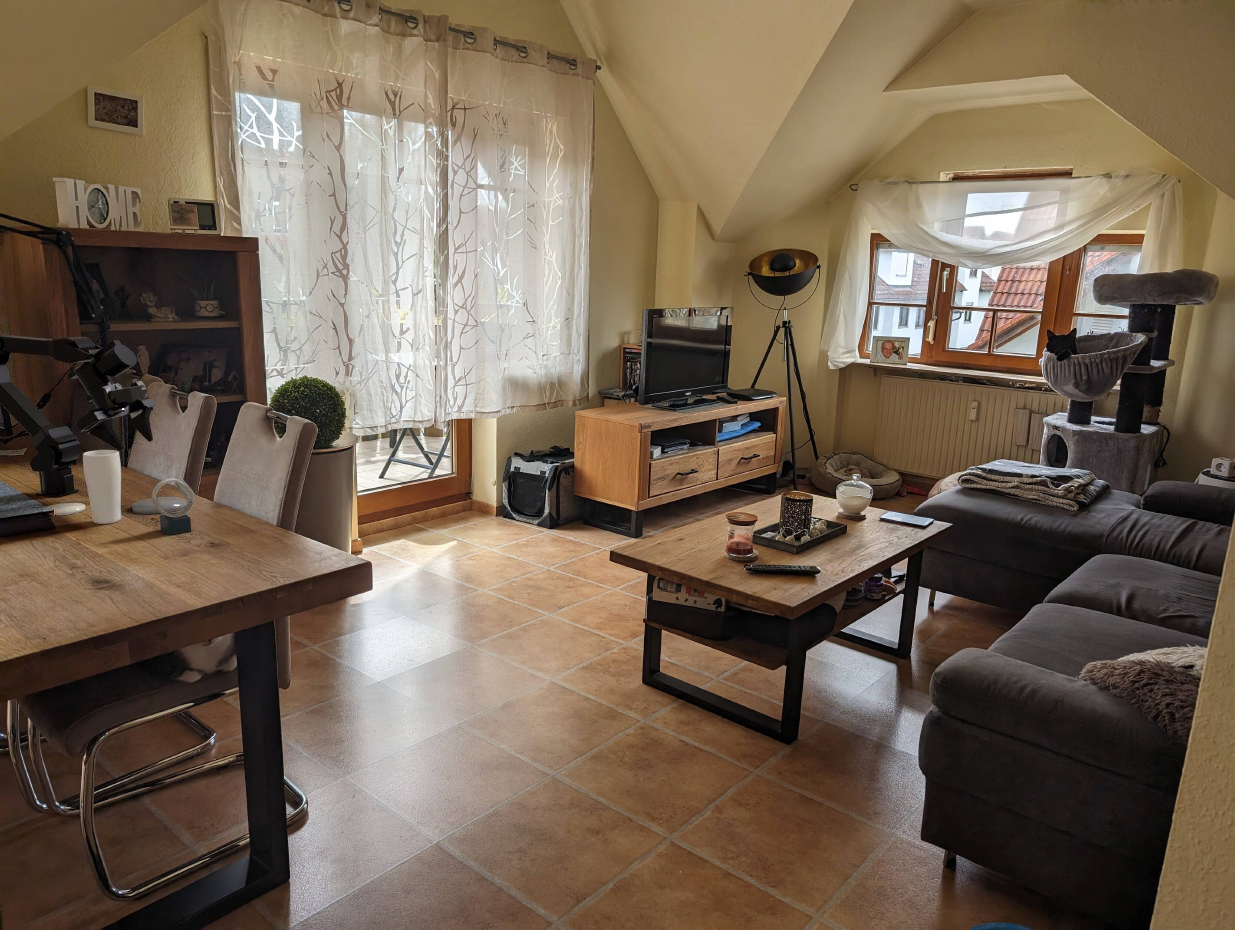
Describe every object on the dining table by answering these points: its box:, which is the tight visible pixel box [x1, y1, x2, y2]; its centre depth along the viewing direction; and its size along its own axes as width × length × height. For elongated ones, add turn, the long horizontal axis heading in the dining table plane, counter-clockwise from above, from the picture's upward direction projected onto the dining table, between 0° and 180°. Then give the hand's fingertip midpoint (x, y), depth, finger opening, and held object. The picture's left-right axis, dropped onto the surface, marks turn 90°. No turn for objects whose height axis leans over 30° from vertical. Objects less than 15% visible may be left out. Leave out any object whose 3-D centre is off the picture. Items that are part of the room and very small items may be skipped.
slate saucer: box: [131, 496, 188, 515], centre depth 197 cm, size 11×11×1 cm
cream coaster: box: [46, 502, 87, 516], centre depth 192 cm, size 8×8×1 cm
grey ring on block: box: [151, 477, 196, 536], centre depth 179 cm, size 6×8×11 cm
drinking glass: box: [82, 449, 122, 525], centre depth 184 cm, size 7×7×15 cm
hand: (136, 445), depth 202 cm, fingers open, 9 cm apart
